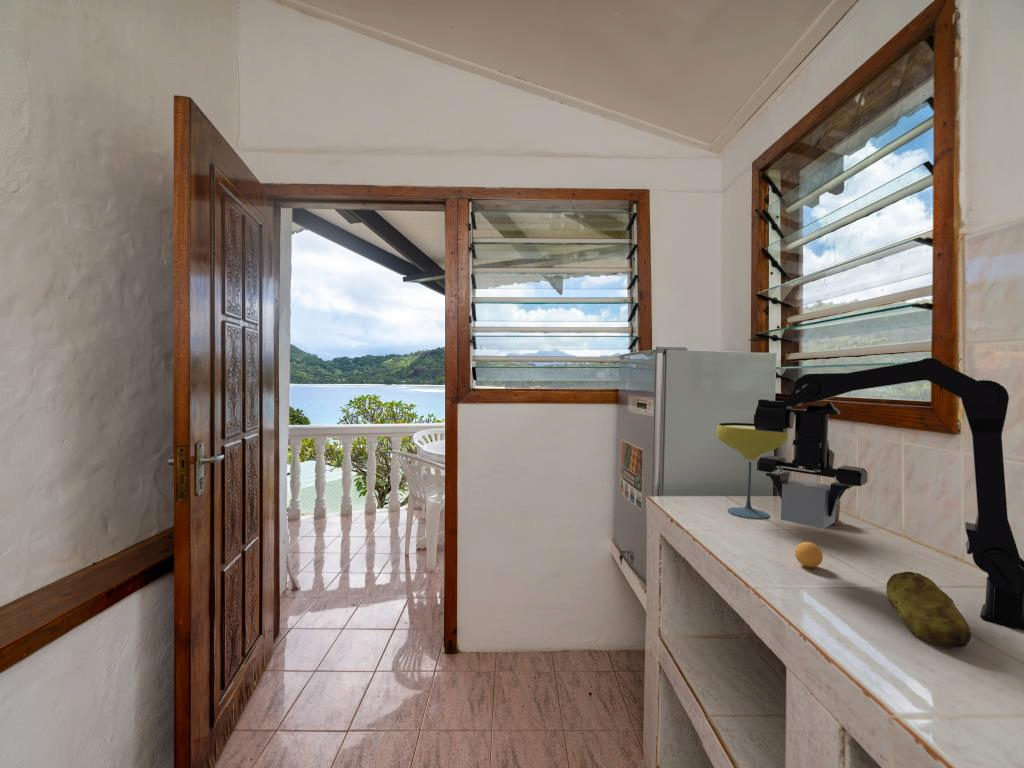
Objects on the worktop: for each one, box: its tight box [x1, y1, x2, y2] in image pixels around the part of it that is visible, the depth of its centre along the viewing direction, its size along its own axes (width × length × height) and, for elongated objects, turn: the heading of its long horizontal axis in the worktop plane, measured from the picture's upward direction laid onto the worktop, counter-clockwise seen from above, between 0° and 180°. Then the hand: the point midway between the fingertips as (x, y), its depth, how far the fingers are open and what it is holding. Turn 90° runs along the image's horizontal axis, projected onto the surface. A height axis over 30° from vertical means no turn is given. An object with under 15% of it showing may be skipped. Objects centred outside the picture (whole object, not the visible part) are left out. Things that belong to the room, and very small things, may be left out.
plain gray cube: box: [780, 479, 835, 530], centre depth 102 cm, size 8×8×7 cm
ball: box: [794, 541, 824, 568], centre depth 104 cm, size 5×5×5 cm
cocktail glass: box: [716, 422, 789, 520], centre depth 143 cm, size 18×18×25 cm
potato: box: [885, 571, 972, 649], centre depth 79 cm, size 8×13×8 cm, turn 158°
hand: (807, 511), depth 102 cm, fingers closed on plain gray cube, 8 cm apart
